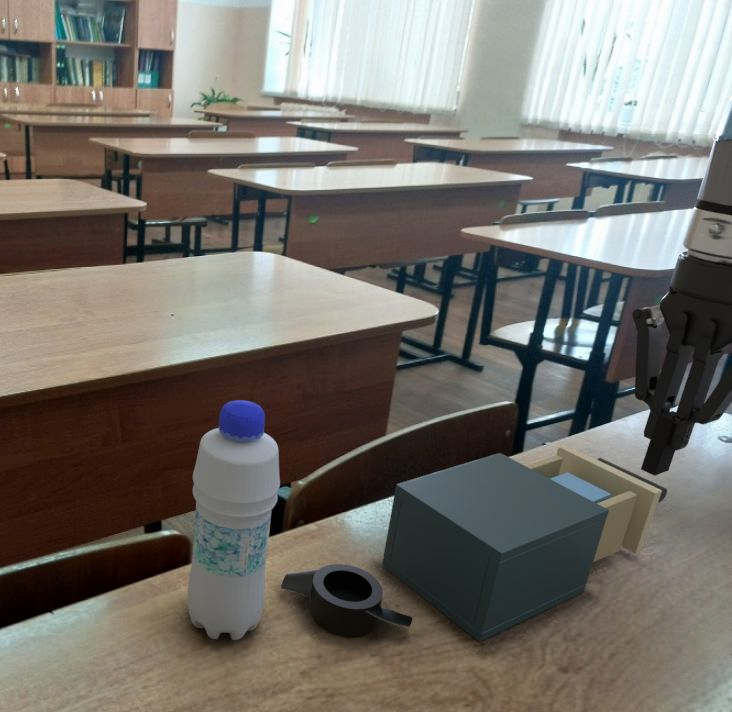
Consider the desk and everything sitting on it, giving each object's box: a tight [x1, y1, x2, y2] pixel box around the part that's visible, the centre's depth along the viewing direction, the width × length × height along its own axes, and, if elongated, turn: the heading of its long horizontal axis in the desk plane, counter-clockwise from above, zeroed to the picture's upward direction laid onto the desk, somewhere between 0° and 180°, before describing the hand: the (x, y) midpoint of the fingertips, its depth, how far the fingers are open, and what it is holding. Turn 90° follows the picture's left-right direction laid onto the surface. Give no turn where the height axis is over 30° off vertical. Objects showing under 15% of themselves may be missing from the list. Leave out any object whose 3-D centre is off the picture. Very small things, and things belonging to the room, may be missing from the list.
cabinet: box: [381, 452, 609, 643], centre depth 66 cm, size 14×11×9 cm
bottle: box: [187, 399, 281, 641], centre depth 57 cm, size 7×7×20 cm
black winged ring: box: [280, 563, 413, 639], centre depth 62 cm, size 8×10×3 cm
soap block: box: [551, 472, 611, 503], centre depth 72 cm, size 5×5×5 cm
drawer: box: [523, 444, 668, 563], centre depth 73 cm, size 18×10×7 cm, turn 120°
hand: (654, 469), depth 79 cm, fingers closed
